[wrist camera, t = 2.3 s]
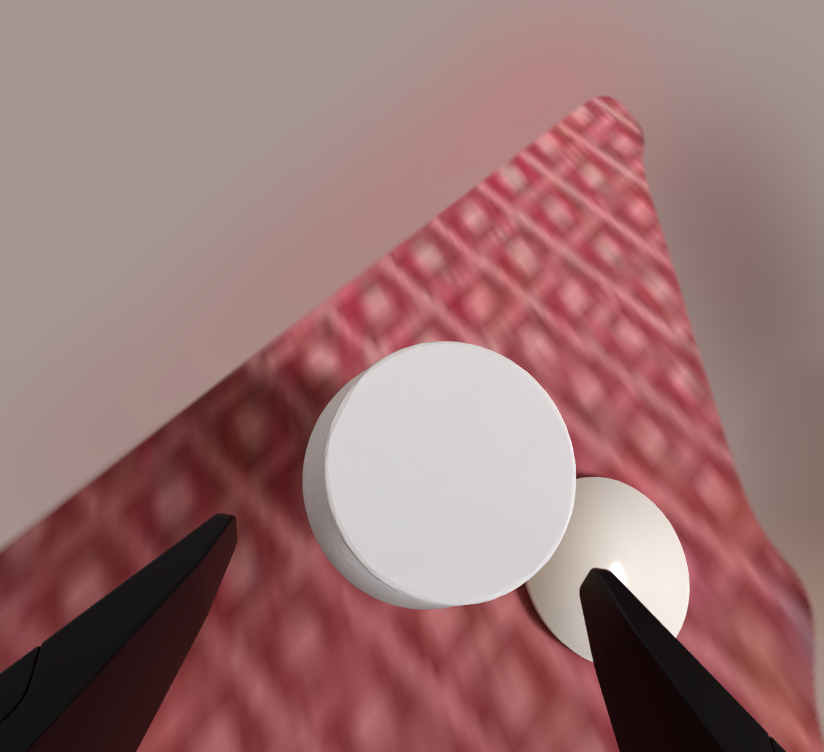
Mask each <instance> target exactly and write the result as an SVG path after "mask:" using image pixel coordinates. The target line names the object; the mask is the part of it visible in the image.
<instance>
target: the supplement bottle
mask: <svg viewBox="0 0 824 752" xmlns="http://www.w3.org/2000/svg"><path fill="white" fill-rule="evenodd" d="M575 490H576V465H575V459H574V453H573V447H572V443H571V440H570V437H569V434H568V431H567V428H566V425H565V423H564V421H563V419H562V416H561V415H560V413H559V411H558V409H557V407H556V406H555V404H554V402H553V401H552V399H551V398H550V397H549V395H548V394H547V392H546V391H545V390H544V389H543V388H542V387H541V386H540V385H539V384H538V382H537V381H536V380H535V379H534V378H533V377H532V376H531V375H530V374H529V373H527V372H526V371H525V370H524V369H522V368H521V367H519V366H518V365H517V364H515V363H514V362H512V361H511V360H509V359H507V358H505V357H504V356H502V355H500V354H498V353H496V352H494V351H491V350H489V349H486V348H483V347H480V346H476V345H473V344H468V343H462V342H453V341H435V342H428V343H421V344H417V345H413V346H410V347H407V348H404V349H400V350H398V351H396V352H394V353H392V354H390V355H388V356H386V357H384V358H382V359H381V360H379V361H378V362H376V363H375V364H373V365H372V366H371V367H370V368H369V369H367V370H365V371H364V372H362V373H361V374H359V375H357V376H356V377H355V378H353V379H352V380H350V381H349V382H348V383H347V384H346V385H345V386H343V388H342V389H341V390H340V391H339V392H338V393H337V394H336V395H335V396H334V397H333V398H332V400H331V401H330V402H329V403H328V405H327V406H326V407H325V409H324V410H323V412H322V413H321V415H320V417H319V418H318V420H317V422H316V424H315V427H314V429H313V431H312V434H311V436H310V439H309V442H308V446H307V449H306V453H305V459H304V465H303V498H304V504H305V509H306V513H307V517H308V520H309V523H310V527H311V529H312V531H313V533H314V536H315V538H316V540H317V542H318V544H319V545H320V547H321V549H322V551H323V552H324V554H325V555H326V557H327V558H328V560H329V561H330V562H331V563H332V565H333V566H334V567H335V568H336V570H337V571H338V572H339V573H340V574H341V575H342V576H343V577H344V578H346V579H347V580H348V581H349V582H350V583H351V584H353V585H354V586H355V587H357V588H358V589H359V590H361V591H363V592H364V593H366V594H368V595H370V596H371V597H373V598H376V599H378V600H380V601H383V602H385V603H388V604H391V605H395V606H399V607H404V608H410V609H442V608H447V607H452V606H460V605H468V604H476V603H481V602H486V601H490V600H493V599H495V598H497V597H499V596H502V595H505V594H507V593H509V592H511V591H512V590H514V589H516V588H518V587H519V586H521V585H522V584H523V583H525V582H526V581H527V580H529V579H530V578H531V577H532V576H534V575H535V574H536V573H537V572H538V571H539V570H540V569H541V568H542V567H543V566H544V565H545V564H546V563H547V562H548V561H549V559H550V558H551V556H552V555H553V553H554V552H555V550H556V548H557V547H558V545H559V543H560V542H561V540H562V537H563V535H564V533H565V531H566V529H567V526H568V523H569V520H570V517H571V514H572V510H573V505H574V500H575Z"/></svg>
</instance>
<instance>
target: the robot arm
mask: <svg viewBox="0 0 824 752" xmlns="http://www.w3.org/2000/svg"><path fill="white" fill-rule="evenodd" d="M236 543H237V526H236V518H235V516H233V515H228V514H216V515H214V516H213V517H212V518H210V519H209V520H208V521H206V522H205V523H203V524H202V525H201V526H199V527H198V528H197V529H195V530H194V531H193V532H191V533H190V534H189V535H187V536H186V537H185V538H183V539H182V540H180V541H179V542H178V543H176V544H175V545H174V546H172V547H171V548H170V549H168V550H167V551H166V552H164V553H163V554H162V555H160V556H159V557H157V558H156V559H155V560H153V561H152V562H151V563H149V564H148V565H147V566H145V567H144V568H143V569H141V570H140V571H139V572H137V573H136V574H135V575H133V576H132V577H130V578H129V579H128V580H126V581H125V582H124V583H122V584H121V585H120V586H118V587H117V588H116V589H114V590H113V591H112V592H110V593H109V594H107V595H106V596H105V597H103V598H102V599H101V600H99V601H98V602H97V603H95V604H94V605H93V606H91V607H90V608H89V609H87V610H86V611H84V612H83V613H82V614H80V615H79V616H78V617H76V618H75V619H74V620H72V621H71V622H70V623H68V624H67V625H66V626H64V627H63V628H62V629H60V630H59V631H57V632H56V633H55V634H53V635H52V636H51V637H49V638H48V639H47V640H45V641H44V642H43V643H42V644H41V647H40V646H38V647H36V648H34V649H33V650H32V651H30V652H29V653H27V654H26V655H25V656H23V657H22V658H21V659H19V660H18V661H17V662H15V663H14V664H13V665H11V666H10V667H8V668H7V669H6V670H4V671H3V672H1V673H0V752H136V751H137V749H138V747H139V745H140V743H141V742H142V740H143V738H144V736H145V734H146V732H147V730H148V728H149V726H150V724H151V722H152V721H153V719H154V717H155V715H156V713H157V711H158V709H159V707H160V705H161V703H162V701H163V700H164V698H165V696H166V694H167V692H168V690H169V688H170V686H171V684H172V682H173V681H174V679H175V677H176V675H177V673H178V671H179V669H180V667H181V665H182V663H183V661H184V660H185V658H186V656H187V654H188V652H189V650H190V648H191V646H192V644H193V642H194V641H195V639H196V637H197V635H198V633H199V631H200V629H201V627H202V625H203V623H204V621H205V619H206V617H207V615H208V613H209V611H210V608H211V606H212V604H213V601H214V599H215V596H216V594H217V591H218V589H219V586H220V584H221V581H222V579H223V577H224V574H225V572H226V569H227V567H228V564H229V562H230V559H231V557H232V555H233V552H234V550H235V547H236ZM579 596H580V601H581V606H582V611H583V616H584V621H585V626H586V630H587V635H588V640H589V645H590V650H591V654H592V659H593V663H594V667H595V670H596V674H597V677H598V681H599V684H600V687H601V691H602V694H603V697H604V701H605V704H606V707H607V711H608V714H609V717H610V721H611V724H612V727H613V731H614V734H615V737H616V741H617V744H618V747H619V751H620V752H786V751H785V750H784V749H783V748H782V747H781V746H780V745H779V744H778V743H777V742H776V741H775V740H774V739H773V738H772V737H770V736H768V733H767V732H766V731H765V730H764V729H763V728H762V727H761V725H760V724H759V723H758V722H757V721H756V720H755V719H754V718H753V717H752V716H751V715H750V714H749V713H748V712H747V711H746V710H745V709H744V708H743V707H742V706H741V705H740V704H739V703H738V702H737V701H736V700H735V699H734V698H733V697H732V696H731V694H730V693H729V692H728V691H727V690H726V689H725V688H724V687H723V686H722V685H721V684H720V683H719V682H718V681H717V680H716V679H715V678H714V677H713V676H712V675H711V674H710V673H709V672H708V671H707V670H706V669H705V668H704V667H703V666H702V665H701V664H700V662H699V661H698V660H697V659H696V658H695V657H694V656H693V655H692V654H691V653H690V652H689V651H688V650H687V649H686V648H685V647H684V646H683V645H682V644H681V643H680V642H679V641H678V640H677V639H676V638H675V637H674V636H673V635H672V634H671V633H670V631H669V630H668V629H667V628H666V627H665V626H664V625H663V624H662V623H661V622H660V621H659V620H658V619H657V618H656V617H655V616H654V615H653V614H652V613H651V612H650V611H649V610H648V609H647V608H646V607H645V606H644V605H643V604H642V603H641V602H640V600H639V599H638V598H637V597H636V596H635V595H634V594H633V593H632V592H631V591H630V590H629V589H628V588H627V587H626V586H625V585H624V584H623V583H622V582H621V581H620V580H619V579H618V578H617V577H616V576H615V575H614V574H613V573H612V572H611V571H610V570H607V569H602V568H592V569H591V570H590V571H589V573H588V574H587V576H586V578H585V579H584V581H583V583H582V584H581V586H580V590H579Z"/></svg>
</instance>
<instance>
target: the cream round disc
mask: <svg viewBox="0 0 824 752" xmlns="http://www.w3.org/2000/svg"><path fill="white" fill-rule="evenodd" d="M592 568H602V569H607V570H610V571H611V572H612V573H613V574H614V575H615V576H616V577H617V578H618V579H619V580H620V581H621V582H622V583H623V584H624V585H625V586H626V587H627V588H628V589H629V590H630V591H631V592H632V593H633V594H634V595H635V596H636V597H637V598H638V599H639V600H640V602H641V603H642V604H643V605H644V606H645V607H646V608H647V609H648V610H649V611H650V612H651V613H652V614H653V615H654V616H655V617H656V618H657V619H658V620H659V621H660V622H661V623H662V624H663V625H664V626H665V627H666V628H667V629H668V630H669V631H670V633H671V634H672V635H673V636H674V637H675V638H676V636H677V635H678V633H679V631H680V629H681V627H682V624H683V622H684V619H685V616H686V612H687V608H688V602H689V574H688V567H687V563H686V559H685V555H684V552H683V549H682V546H681V543H680V541H679V539H678V537H677V535H676V533H675V531H674V529H673V528H672V526H671V524H670V522H669V521H668V520H667V518H666V517H665V516H664V514H663V513H662V512H661V511H660V510H659V508H658V507H657V506H656V505H655V504H654V503H653V502H652V501H651V500H649V499H648V498H647V497H646V496H645V495H643V494H642V493H640V492H639V491H638V490H636V489H634V488H632V487H631V486H629V485H627V484H624V483H622V482H619V481H617V480H613V479H609V478H602V477H584V478H577V479H576V490H575V500H574V505H573V510H572V514H571V517H570V520H569V523H568V526H567V529H566V531H565V533H564V535H563V537H562V540H561V542H560V543H559V545H558V547H557V548H556V550H555V552H554V553H553V555H552V556H551V558H550V559H549V561H548V562H547V563H546V564H545V565H544V566H543V567H542V568H541V569H540V570H539V571H538V572H537V573H536V574H535V575H534V576H532V577H531V578H530V579H529V580H527V581H526V582H525V586H526V589H527V592H528V595H529V597H530V600H531V602H532V604H533V606H534V608H535V610H536V612H537V613H538V615H539V617H540V618H541V620H542V621H543V623H544V624H545V625H546V626H547V628H548V629H549V630H550V631H551V632H552V633H553V634H554V635H555V636H556V637H557V638H558V639H559V640H560V641H561V642H562V643H564V644H565V645H566V646H567V647H569V648H570V649H571V650H573V651H574V652H575V653H577V654H578V655H580V656H582V657H583V658H585V659H587V660H589V661H592V662H593V659H592V654H591V650H590V645H589V640H588V635H587V630H586V626H585V621H584V616H583V611H582V606H581V601H580V596H579V590H580V586H581V584H582V583H583V581H584V579H585V578H586V576H587V574H588V573H589V571H590V570H591V569H592Z"/></svg>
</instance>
